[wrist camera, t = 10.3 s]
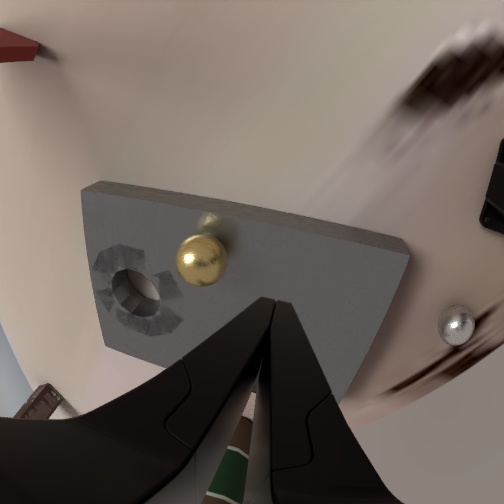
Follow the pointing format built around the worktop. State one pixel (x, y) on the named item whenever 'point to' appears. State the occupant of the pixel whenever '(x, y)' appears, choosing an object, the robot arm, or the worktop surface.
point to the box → (40, 403)
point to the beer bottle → (232, 468)
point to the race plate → (235, 274)
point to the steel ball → (456, 325)
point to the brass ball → (201, 260)
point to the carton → (16, 47)
